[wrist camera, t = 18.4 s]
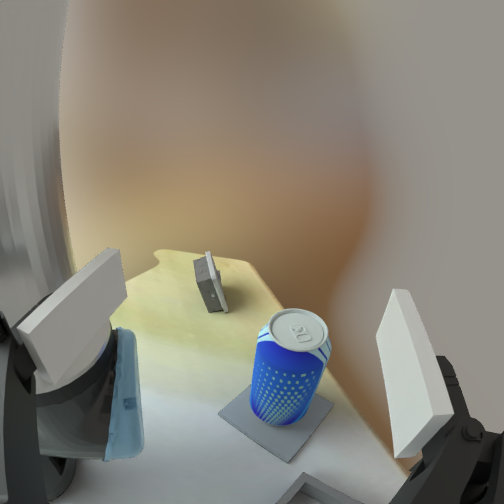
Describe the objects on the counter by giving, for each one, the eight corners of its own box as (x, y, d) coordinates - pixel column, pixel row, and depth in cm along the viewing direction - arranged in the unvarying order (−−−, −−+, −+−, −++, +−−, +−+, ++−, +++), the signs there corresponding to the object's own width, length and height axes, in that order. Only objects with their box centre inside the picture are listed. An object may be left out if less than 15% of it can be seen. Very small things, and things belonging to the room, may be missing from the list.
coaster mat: (287, 463, 31) (288, 461, 31) (218, 414, 38) (218, 412, 37) (333, 405, 40) (334, 403, 40) (269, 368, 46) (270, 366, 46)
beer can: (239, 417, 37) (247, 341, 29) (261, 376, 44) (274, 295, 36) (297, 437, 34) (328, 366, 27) (312, 392, 41) (341, 314, 34)
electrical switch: (229, 314, 57) (225, 274, 52) (202, 318, 56) (196, 279, 51) (221, 286, 65) (217, 248, 60) (197, 289, 64) (192, 252, 59)
